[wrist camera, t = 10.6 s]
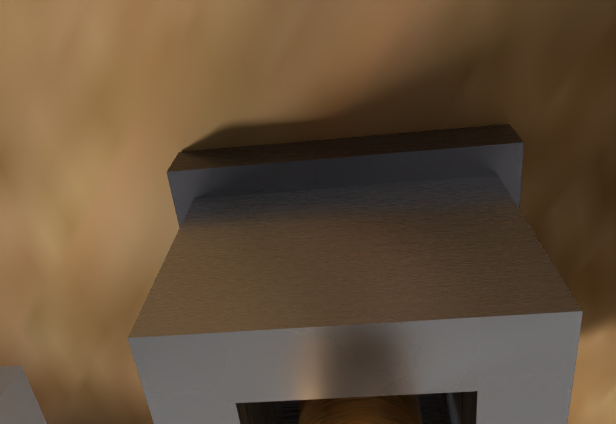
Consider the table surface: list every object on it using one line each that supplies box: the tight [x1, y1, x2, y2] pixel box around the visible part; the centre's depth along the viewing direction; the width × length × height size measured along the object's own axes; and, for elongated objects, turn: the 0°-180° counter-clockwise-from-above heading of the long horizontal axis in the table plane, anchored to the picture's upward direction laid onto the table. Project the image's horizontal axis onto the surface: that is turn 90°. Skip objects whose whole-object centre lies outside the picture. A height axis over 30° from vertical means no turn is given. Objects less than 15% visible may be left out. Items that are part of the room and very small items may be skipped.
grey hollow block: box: [128, 175, 583, 424], centre depth 13 cm, size 7×7×5 cm
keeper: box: [167, 124, 524, 424], centre depth 11 cm, size 8×8×10 cm
